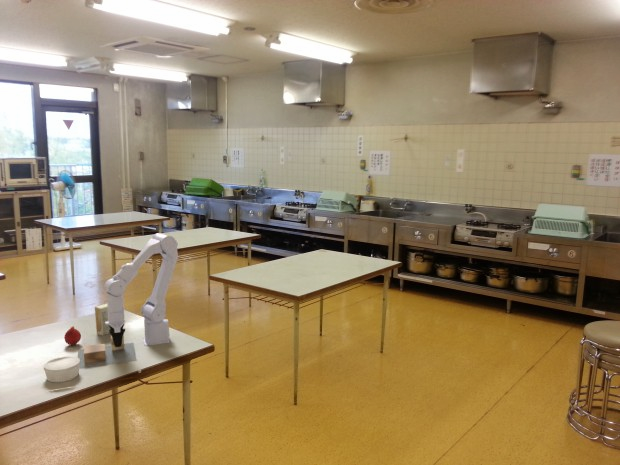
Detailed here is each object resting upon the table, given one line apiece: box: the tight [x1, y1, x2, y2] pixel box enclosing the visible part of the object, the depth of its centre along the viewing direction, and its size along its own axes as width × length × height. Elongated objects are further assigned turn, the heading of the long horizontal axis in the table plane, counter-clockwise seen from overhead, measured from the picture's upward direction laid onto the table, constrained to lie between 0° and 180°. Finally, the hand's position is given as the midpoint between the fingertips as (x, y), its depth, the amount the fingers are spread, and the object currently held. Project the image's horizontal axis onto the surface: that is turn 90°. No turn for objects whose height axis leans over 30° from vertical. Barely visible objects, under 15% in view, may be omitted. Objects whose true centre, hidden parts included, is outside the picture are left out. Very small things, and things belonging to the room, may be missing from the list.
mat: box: [77, 342, 138, 370], centre depth 182 cm, size 20×18×1 cm
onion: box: [64, 325, 82, 347], centre depth 191 cm, size 6×6×8 cm
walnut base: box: [83, 343, 106, 364], centre depth 179 cm, size 7×7×4 cm
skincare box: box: [94, 302, 111, 336], centre depth 204 cm, size 6×4×12 cm
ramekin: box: [43, 356, 80, 383], centre depth 165 cm, size 11×11×5 cm
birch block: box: [110, 333, 125, 350], centre depth 186 cm, size 4×4×5 cm
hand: (117, 344), depth 186 cm, fingers closed on birch block, 4 cm apart
